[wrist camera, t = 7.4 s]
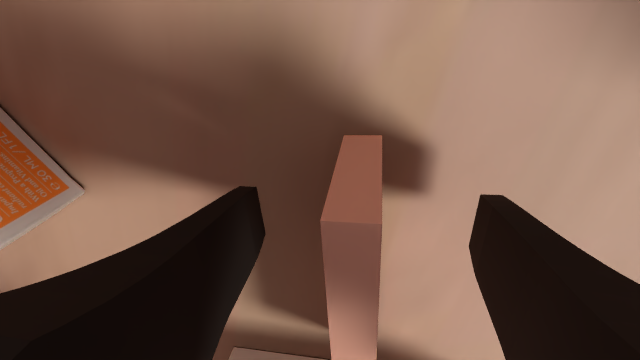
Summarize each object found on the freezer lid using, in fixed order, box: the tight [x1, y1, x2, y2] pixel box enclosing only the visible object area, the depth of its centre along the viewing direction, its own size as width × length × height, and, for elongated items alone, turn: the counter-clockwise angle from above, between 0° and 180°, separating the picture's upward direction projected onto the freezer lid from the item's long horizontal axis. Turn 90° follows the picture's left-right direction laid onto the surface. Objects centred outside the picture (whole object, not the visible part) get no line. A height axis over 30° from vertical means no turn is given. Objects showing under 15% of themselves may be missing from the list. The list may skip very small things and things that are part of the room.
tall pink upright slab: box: [320, 135, 382, 360], centre depth 11 cm, size 1×12×4 cm, turn 4°
